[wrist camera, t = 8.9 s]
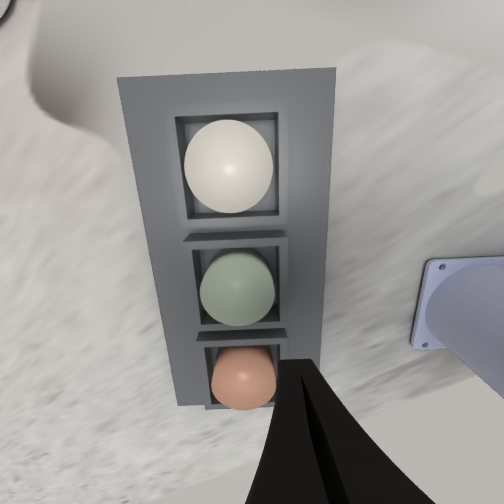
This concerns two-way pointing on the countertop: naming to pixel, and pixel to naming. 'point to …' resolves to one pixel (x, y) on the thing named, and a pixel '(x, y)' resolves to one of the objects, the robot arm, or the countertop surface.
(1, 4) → the can
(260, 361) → the terracotta button
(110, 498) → the countertop surface
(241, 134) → the cream button
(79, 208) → the countertop surface
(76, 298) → the countertop surface
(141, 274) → the countertop surface
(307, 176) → the panel
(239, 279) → the sage button
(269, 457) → the robot arm
